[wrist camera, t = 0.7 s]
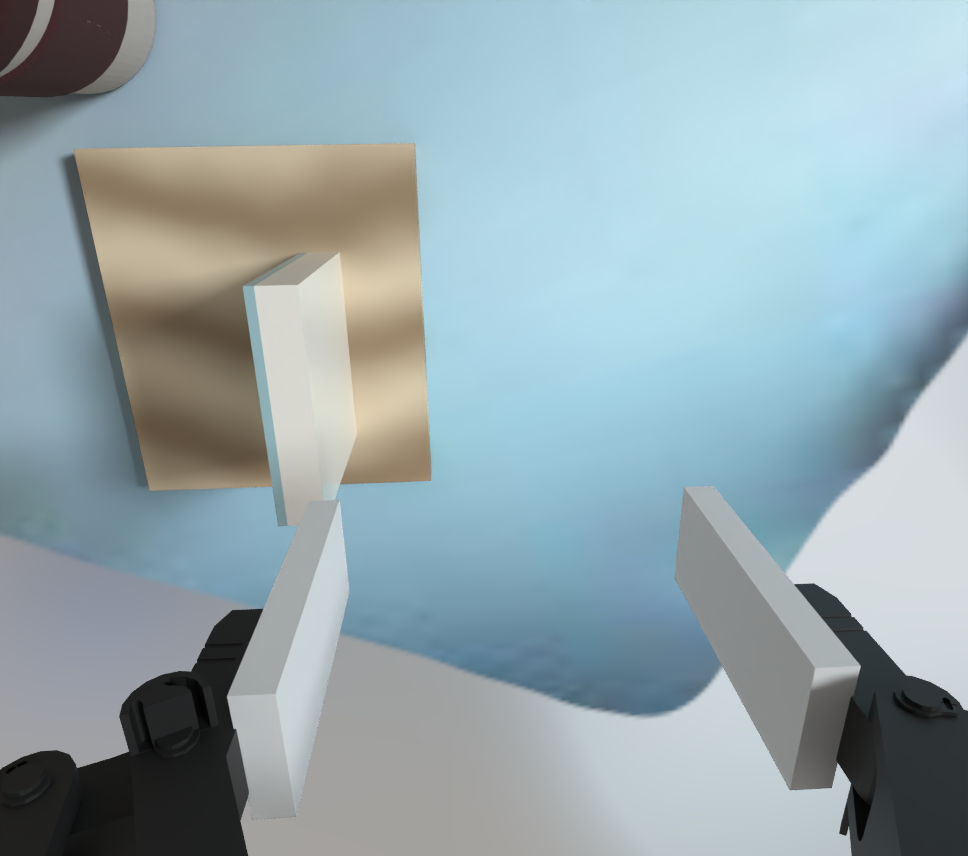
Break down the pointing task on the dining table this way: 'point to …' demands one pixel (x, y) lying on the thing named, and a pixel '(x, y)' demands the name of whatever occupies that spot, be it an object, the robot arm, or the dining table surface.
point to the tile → (302, 378)
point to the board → (221, 305)
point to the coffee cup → (72, 45)
